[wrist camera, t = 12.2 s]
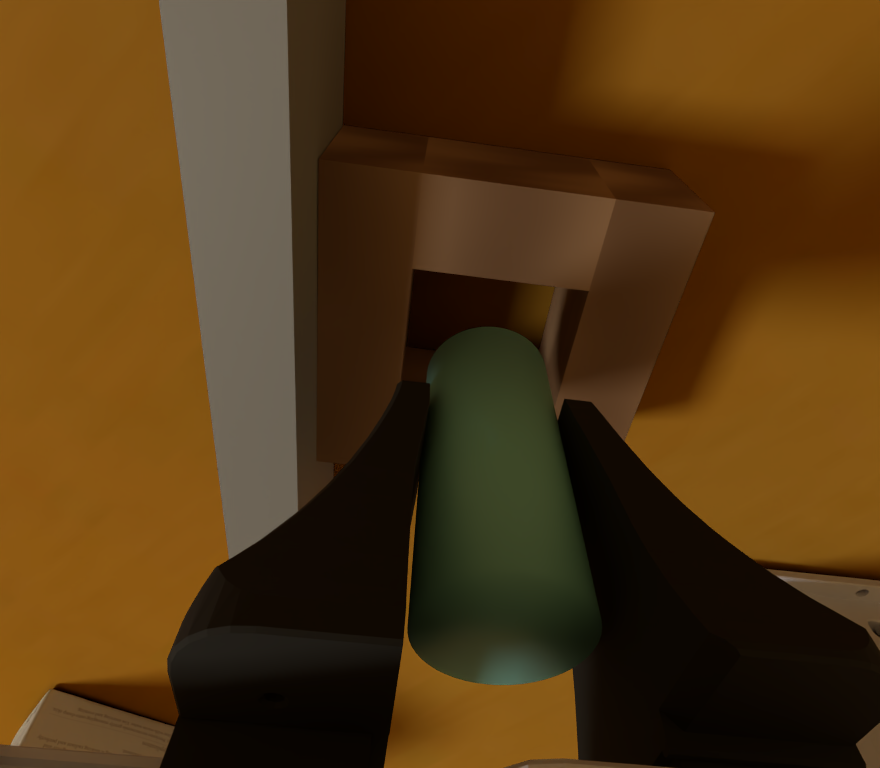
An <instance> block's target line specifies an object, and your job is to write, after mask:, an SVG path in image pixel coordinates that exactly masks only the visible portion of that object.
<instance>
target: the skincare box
mask: <svg viewBox="0 0 880 768" xmlns="http://www.w3.org/2000/svg"><path fill="white" fill-rule="evenodd" d="M174 727H175V726H171V725H168V724H164V723H161V722H158V721H154V720H151V719H148V718H145V717H141V716H138V715H135V714H131V713H128V712H125V711H121V710H118V709H115V708H111V707H108V706H105V705H102V704H99V703H95V702H92V701H89V700H86V699H83V698H80V697H78V696H74V695H71V694H68V693H64V692H61V691H57V690H54V689H50V690H49V691H48V692H47V693H46V694H45V696H44V697H43V698H42V700H41V701H40V702H39V703H38V705H37V706H36V707H35V709H34V710H33V711H32V713H31V714H30V716H29V717H28V718H27V720H26V721H25V722H24V724H23V725H22V726H21V728H20V729H19V731H18V732H17V734H16V736H15V737H14V739H13V741H12V743H11V745H13V746H25V747H38V748H50V749H62V750H75V751H87V752H100V753H112V754H124V755H137V756H149V757H162V758H163V757H164V754H165V752H166V749H167V746H168V744H169V741H170V738H171V736H172V733H173V730H174Z"/></svg>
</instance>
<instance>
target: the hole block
mask: <svg viewBox="0 0 880 768" xmlns="http://www.w3.org/2000/svg"><path fill="white" fill-rule="evenodd" d="M714 214H715V212H714V211H713V210H712V209H711V208H710V207H709V206H708V205H707V204H705V203H704V202H703V201H702V200H701V199H700V198H699V197H698V196H697V195H696V194H695V193H694V192H693V191H692V190H691V189H690V188H689V187H688V186H686V185H685V184H684V183H683V182H682V181H681V180H680V179H679V178H678V177H677V176H676V175H675V174H674V173H673V172H672V171H671V170H667V169H660V168H652V167H645V166H638V165H631V164H623V163H616V162H609V161H601V160H594V159H587V158H580V157H572V156H565V155H558V154H551V153H543V152H536V151H529V150H522V149H514V148H507V147H500V146H493V145H485V144H478V143H471V142H464V141H456V140H449V139H442V138H435V137H427V136H420V135H413V134H406V133H398V132H391V131H384V130H377V129H369V128H362V127H355V126H348V125H343V127H342V128H341V129H340V131H339V132H338V133H337V135H336V136H335V137H334V139H333V140H332V141H331V143H330V144H329V146H328V147H327V148H326V150H325V151H324V152H323V154H322V155H321V156H320V158H319V159H318V298H317V442H316V461H319V462H329V463H338V464H347V463H348V462H349V460H350V459H351V458H352V457H353V455H354V454H355V453H356V452H357V450H358V449H359V448H360V446H361V445H362V444H363V443H364V441H365V440H366V439H367V437H368V436H369V435H370V433H371V432H372V430H373V429H374V427H375V426H376V424H377V423H378V421H379V420H380V418H381V417H382V415H383V413H384V411H385V410H386V408H387V406H388V404H389V403H390V401H391V399H392V397H393V394H394V392H395V389H396V386H397V384H398V383H399V382H401V381H402V380H405V381H414V382H423V383H426V379H427V370H428V365H429V363H430V360H431V358H432V356H433V354H434V353H435V352H436V350H428V349H419V348H411V347H406V344H407V335H408V326H409V316H410V307H411V298H412V288H413V279H414V270H415V269H418V270H426V271H434V272H442V273H450V274H458V275H466V276H474V277H481V278H489V279H497V280H505V281H513V282H521V283H529V284H537V285H545V286H553V287H555V290H554V294H553V297H552V301H551V305H550V309H549V313H548V317H547V321H546V324H545V328H544V332H543V336H542V340H541V344H540V348H539V352H540V354H541V356H542V358H543V360H544V363H545V366H546V371H547V375H548V380H549V385H550V389H551V394H552V398H553V403H554V407H555V412H556V416H557V421H558V418H559V415H560V411H561V408H562V405H563V401H564V399H572V400H581V401H589V402H592V403H593V404H594V405H595V407H596V408H597V409H598V410H599V411H600V412H601V414H602V415H603V416H604V417H605V419H606V420H607V421H608V422H609V423H610V425H611V426H612V427H613V428H614V430H615V431H616V432H617V433H618V434H619V436H620V437H621V438H622V439H623V440H624V441H625V438H626V436H627V433H628V430H629V428H630V425H631V423H632V420H633V418H634V415H635V413H636V410H637V408H638V405H639V403H640V400H641V398H642V395H643V393H644V390H645V388H646V385H647V383H648V380H649V378H650V375H651V372H652V370H653V367H654V365H655V362H656V360H657V357H658V355H659V352H660V350H661V347H662V345H663V342H664V340H665V337H666V335H667V332H668V330H669V327H670V325H671V322H672V320H673V317H674V315H675V312H676V309H677V307H678V304H679V302H680V299H681V297H682V294H683V292H684V289H685V287H686V284H687V282H688V279H689V277H690V274H691V272H692V269H693V267H694V264H695V262H696V259H697V257H698V254H699V252H700V249H701V246H702V244H703V241H704V239H705V236H706V234H707V231H708V229H709V226H710V224H711V221H712V219H713V216H714Z"/></svg>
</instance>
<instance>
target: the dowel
mask: <svg viewBox="0 0 880 768" xmlns="http://www.w3.org/2000/svg"><path fill="white" fill-rule="evenodd" d="M426 383H430V403H429V410H428V417H427V424H426V431H425V438H424V444H423V449H422V455H421V461H420V471H419V484H418V497H417V510H416V524H415V537H414V550H413V563H412V576H411V589H410V603H409V616H408V637H409V641H410V643H411V646H412V647H413V649H414V650H415V652H416V653H417V654H418V655H419V657H420V658H421V659H422V660H424V661H425V662H426V663H427V664H428V665H430V666H432V667H433V668H435V669H436V670H438V671H440V672H442V673H444V674H447V675H449V676H452V677H455V678H458V679H462V680H465V681H470V682H475V683H482V684H492V685H514V684H524V683H530V682H536V681H540V680H544V679H548V678H551V677H554V676H557V675H559V674H561V673H564V672H566V671H568V670H570V669H572V668H574V667H575V666H577V665H578V664H580V663H581V662H582V661H584V660H585V659H586V658H587V657H588V656H589V655H590V654H591V653H592V652H593V651H594V649H595V648H596V646H597V644H598V643H599V640H600V637H601V634H602V620H601V615H600V611H599V606H598V602H597V597H596V593H595V588H594V584H593V579H592V574H591V570H590V565H589V561H588V556H587V552H586V547H585V543H584V538H583V534H582V529H581V525H580V520H579V516H578V511H577V507H576V502H575V498H574V493H573V489H572V484H571V480H570V475H569V470H568V466H567V461H566V457H565V452H564V448H563V443H562V439H561V434H560V430H559V425H558V421H557V416H556V412H555V407H554V403H553V398H552V394H551V389H550V385H549V380H548V375H547V371H546V366H545V363H544V360H543V358H542V356H541V354H540V352H539V351H538V349H537V348H536V347H535V346H534V345H533V343H532V342H530V341H529V340H528V339H527V338H525V337H524V336H522V335H520V334H518V333H516V332H514V331H511V330H508V329H504V328H499V327H477V328H472V329H468V330H465V331H462V332H460V333H458V334H456V335H454V336H452V337H450V338H449V339H448V340H446V341H445V342H444V343H443V344H442V345H441V346H440V347H439V348H438V349H437V350H436V352H435V353H434V354H433V356H432V358H431V360H430V363H429V365H428V370H427V379H426Z"/></svg>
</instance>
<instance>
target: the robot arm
mask: <svg viewBox="0 0 880 768" xmlns="http://www.w3.org/2000/svg"><path fill="white" fill-rule="evenodd" d="M429 403H430V383H423V382H414V381H405V380H402V381H401V382H399V383H398V384H397V386H396V389H395V392H394V394H393V397H392V399H391V401H390V403H389V404H388V406H387V408H386V410H385V411H384V413H383V415H382V417H381V418H380V420H379V421H378V423H377V424H376V426H375V427H374V429H373V430H372V432H371V433H370V435H369V436H368V437H367V439H366V440H365V441H364V443H363V444H362V445H361V446H360V448H359V449H358V450H357V452H356V453H355V454H354V455H353V457H352V458H351V459H350V460H349V462H348V463H347V464H346V465H345V466H344V467H343V468H342V470H341V471H340V472H339V473H338V474H337V475H336V476H335V477H334V478H333V479H332V480H331V481H330V482H329V483H328V484H327V485H326V486H325V487H324V488H323V489H322V490H321V491H320V492H319V493H318V494H317V495H316V496H315V497H313V498H312V499H311V500H310V501H309V502H308V503H307V504H306V505H305V506H303V507H302V508H301V509H300V510H299V511H298V512H296V513H295V514H294V515H293V516H291V517H290V518H289V519H287V520H286V521H285V522H283V523H282V524H281V525H279V526H278V527H277V528H275V529H274V530H273V531H271V532H270V533H269V534H267V535H266V536H265V537H263V538H262V539H260V540H259V541H258V542H256V543H255V544H253V545H251V546H250V547H248V548H247V549H245V550H243V551H242V552H240V553H239V554H237V555H235V556H234V557H232V558H230V559H229V560H227V561H226V562H224V563H222V564H221V565H219V566H217V567H216V568H215V569H214V570H213V572H212V573H211V575H210V576H209V578H208V579H207V581H206V582H205V583H204V585H203V586H202V588H201V590H200V591H199V593H198V595H197V596H196V598H195V600H194V601H193V603H192V605H191V607H190V608H189V610H188V612H187V614H186V616H185V618H184V620H183V622H182V624H181V627H180V629H179V632H178V634H177V636H176V639H175V641H174V644H173V646H172V649H171V651H170V653H169V656H168V658H167V662H168V675H169V678H170V682H171V686H172V690H173V694H174V698H175V701H176V705H177V709H178V713H179V717H178V719H177V722H176V725H175V727H174V730H173V733H172V736H171V738H170V741H169V744H168V746H167V749H166V752H165V754H164V757H163V758H162V757H149V756H137V755H124V754H112V753H100V752H87V751H75V750H62V749H50V748H38V747H25V746H13V745H1V744H0V768H384V762H385V755H386V749H387V742H388V736H389V733H390V726H391V720H392V713H393V706H394V700H395V693H396V687H397V680H398V674H399V667H400V660H401V654H402V647H403V638H404V625H405V613H406V593H407V573H408V554H409V538H410V526H411V520H412V515H413V510H414V505H415V500H416V495H417V488H418V481H419V471H420V461H421V455H422V449H423V444H424V438H425V431H426V424H427V417H428V410H429ZM558 425H559V430H560V434H561V439H562V443H563V448H564V452H565V457H566V461H567V466H568V470H569V475H570V480H571V484H572V489H573V493H574V498H575V502H576V507H577V511H578V516H579V520H580V525H581V529H582V534H583V538H584V543H585V547H586V552H587V556H588V561H589V565H590V570H591V574H592V579H593V584H594V588H595V593H596V597H597V602H598V606H599V611H600V615H601V620H602V634H601V637H600V640H599V643H598V644H597V646H596V648H595V649H594V651H593V652H592V653H591V654H590V655H589V656H588V657H587V658H586V659H585V660H584V661H582V662H581V663H580V664H578V665H577V666H575V667H574V668H573V677H574V690H575V704H576V721H577V739H578V759H579V760H575V759H538V760H528V761H524V762H521V763H518V764H515V765H511V766H508V767H505V768H880V581H879V580H869V579H859V578H850V577H840V576H830V575H820V574H811V573H801V572H791V571H781V570H771V569H765V568H764V567H762V566H761V565H759V564H758V563H756V562H755V561H754V560H752V559H751V558H749V557H748V556H747V555H745V554H744V553H743V552H741V551H740V550H739V549H737V548H736V547H735V546H733V545H732V544H731V543H729V542H728V541H727V540H725V539H724V538H723V537H722V536H720V535H719V534H718V533H717V532H715V531H714V530H713V529H712V528H710V527H709V526H708V525H707V524H706V523H705V522H703V521H702V520H701V519H700V518H699V517H698V516H697V515H695V514H694V513H693V512H692V511H691V510H690V509H688V508H687V507H686V506H685V505H684V504H683V503H682V502H681V501H680V500H679V499H678V498H677V497H676V496H675V495H674V494H673V493H672V492H671V491H670V490H669V489H668V488H667V487H666V486H665V485H664V484H663V483H662V482H661V481H660V480H659V479H658V478H657V477H656V476H655V475H654V474H653V473H652V472H651V471H650V470H649V469H648V468H647V467H646V466H645V464H644V463H643V462H642V461H641V460H640V459H639V458H638V457H637V455H636V454H635V453H634V452H633V451H632V450H631V449H630V447H629V446H628V445H627V444H626V443H625V442H624V440H623V439H622V438H621V437H620V436H619V434H618V433H617V432H616V431H615V430H614V428H613V427H612V426H611V425H610V423H609V422H608V421H607V420H606V419H605V417H604V416H603V415H602V414H601V412H600V411H599V410H598V409H597V408H596V407H595V405H594V404H593V403H592V402H589V401H581V400H572V399H564V401H563V405H562V408H561V411H560V415H559V418H558Z"/></svg>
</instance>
